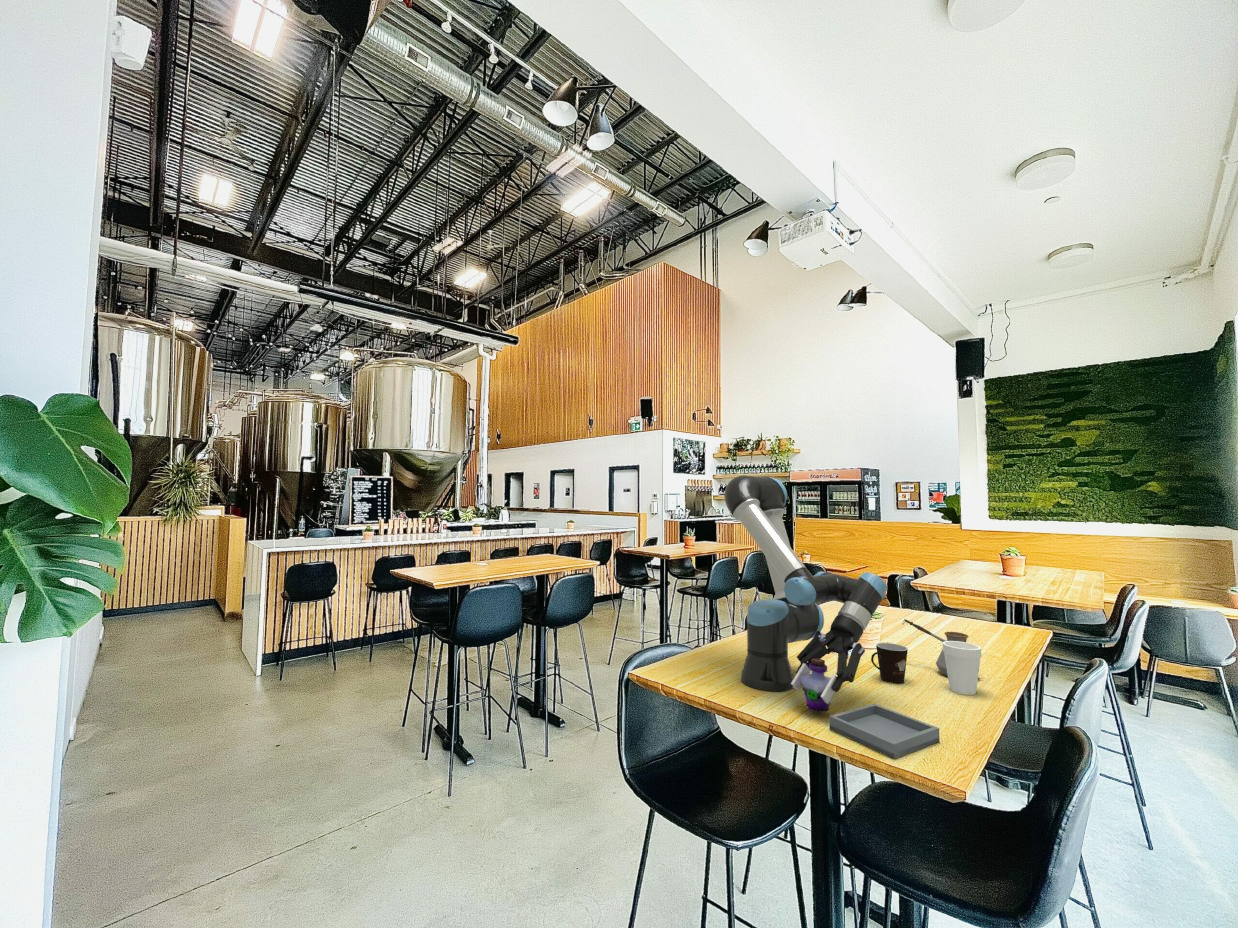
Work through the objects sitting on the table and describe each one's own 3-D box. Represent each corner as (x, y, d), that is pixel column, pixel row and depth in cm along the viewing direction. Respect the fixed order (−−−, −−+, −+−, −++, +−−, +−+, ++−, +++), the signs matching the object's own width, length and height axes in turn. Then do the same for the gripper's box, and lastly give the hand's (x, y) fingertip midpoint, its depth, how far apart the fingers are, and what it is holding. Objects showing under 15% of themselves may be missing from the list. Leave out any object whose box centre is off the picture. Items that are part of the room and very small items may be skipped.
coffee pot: (983, 676, 164) (981, 627, 165) (975, 684, 156) (973, 633, 157) (908, 660, 179) (907, 616, 180) (897, 667, 171) (896, 621, 172)
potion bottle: (799, 710, 130) (799, 661, 131) (800, 697, 138) (800, 652, 139) (836, 716, 127) (836, 666, 128) (835, 703, 135) (835, 656, 136)
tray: (829, 729, 123) (829, 715, 123) (874, 715, 131) (874, 703, 132) (894, 758, 109) (893, 744, 109) (939, 741, 117) (939, 727, 118)
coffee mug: (900, 676, 162) (900, 643, 163) (913, 685, 154) (913, 651, 154) (862, 674, 163) (861, 641, 164) (872, 683, 155) (872, 649, 155)
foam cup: (985, 691, 150) (983, 645, 151) (979, 699, 143) (978, 651, 144) (947, 682, 157) (946, 639, 157) (940, 690, 150) (938, 644, 151)
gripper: (894, 642, 132) (853, 718, 123) (823, 622, 150) (783, 687, 142) (881, 623, 129) (838, 699, 121) (811, 605, 148) (769, 670, 139)
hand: (809, 693), depth 131 cm, fingers closed on potion bottle, 9 cm apart
